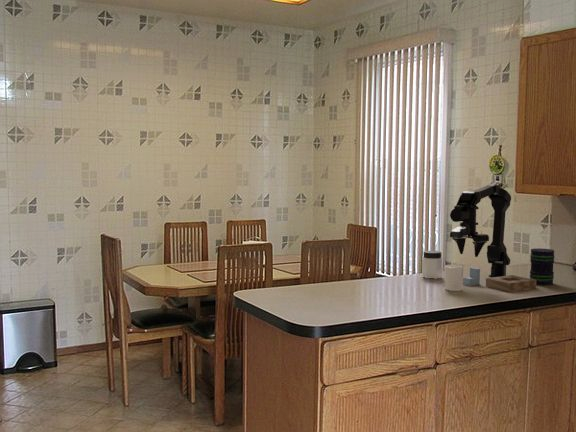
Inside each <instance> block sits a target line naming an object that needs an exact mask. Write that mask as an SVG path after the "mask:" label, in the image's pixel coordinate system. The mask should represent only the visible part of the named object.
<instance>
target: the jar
mask: <svg viewBox="0 0 576 432" xmlns="http://www.w3.org/2000/svg"><path fill="white" fill-rule="evenodd" d="M442 257H443V256H442V251H439V250H424V251H423V256H422V262H421V264H422V265H421V267H422V268H421V269H422V271H421V276H423V278H424V277H425V278H424V279H427V278H434V279H433V280H438V279H437V278H439V279H443V258H442Z"/></svg>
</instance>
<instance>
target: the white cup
mask: <svg viewBox="0 0 576 432" xmlns="http://www.w3.org/2000/svg"><path fill="white" fill-rule="evenodd" d="M443 268H444V269H443V270H444V273H443V274H444V275H443V276H444V289H446V291H448V290H449V291H450V292H461V291H462V287H463V277H464V271H465V270H464V269H465V268H464V266H463V265H460V264H446V265H444V266H443ZM449 291H448V292H449Z"/></svg>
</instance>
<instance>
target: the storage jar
mask: <svg viewBox="0 0 576 432" xmlns="http://www.w3.org/2000/svg"><path fill="white" fill-rule="evenodd" d="M529 257H530V258H529V259H530V261H529V262H530V270H529V279H534V280H536V286H542V287H543V286H548V287H549V286H553V285H554V275H555V272H554V263H555V250H554V249H549V248H537V247H536V248H531V249H530V256H529Z"/></svg>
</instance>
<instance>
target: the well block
mask: <svg viewBox="0 0 576 432" xmlns="http://www.w3.org/2000/svg"><path fill="white" fill-rule="evenodd" d="M485 287H486V288H491V289H494V290H495V289H496V290H500V291H503V292H506V293H507V292H508V293H510V292H511V293H513V292H520V291H528V290H534V289H537V285H536V280H534V279H530V277H529V278H528V277H523V276H518V275H514V274H511V275H506V276H501V277H486V278H485Z"/></svg>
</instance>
